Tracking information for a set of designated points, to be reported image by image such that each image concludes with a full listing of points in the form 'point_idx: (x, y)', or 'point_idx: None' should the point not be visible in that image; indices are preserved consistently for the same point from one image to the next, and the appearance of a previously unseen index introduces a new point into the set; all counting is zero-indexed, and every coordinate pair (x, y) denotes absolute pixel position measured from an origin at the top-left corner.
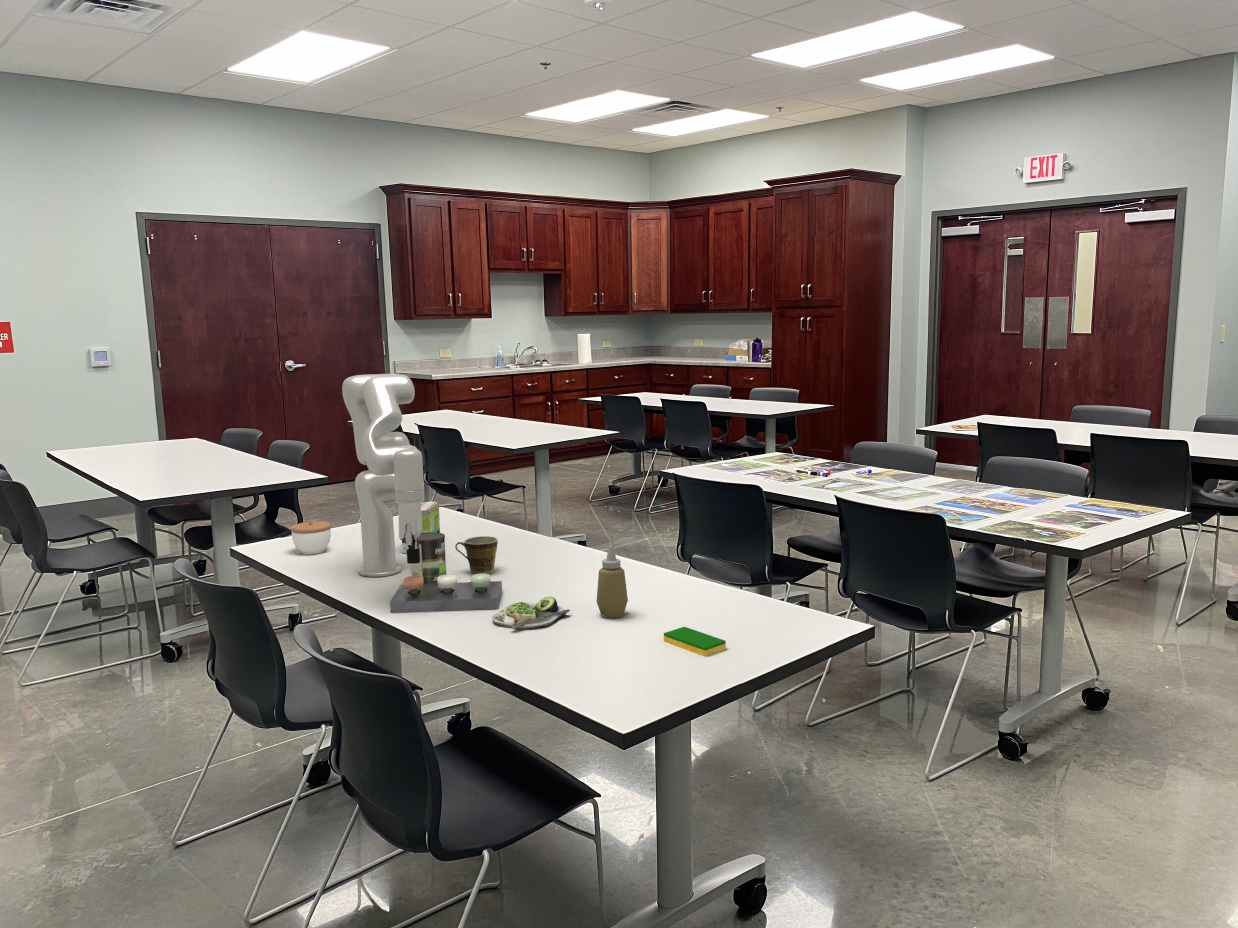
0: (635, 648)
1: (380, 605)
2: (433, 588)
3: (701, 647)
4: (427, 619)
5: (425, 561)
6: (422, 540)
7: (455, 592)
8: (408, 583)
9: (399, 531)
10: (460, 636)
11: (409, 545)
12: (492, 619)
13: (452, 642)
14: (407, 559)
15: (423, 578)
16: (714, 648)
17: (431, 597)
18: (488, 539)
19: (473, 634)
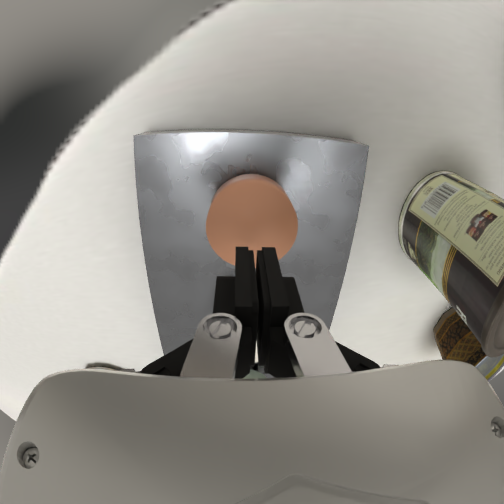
0: None
1: (237, 78)
2: (285, 265)
3: None
4: (93, 251)
5: (448, 257)
6: (502, 303)
7: None
8: (210, 206)
9: (5, 455)
10: (30, 315)
11: (175, 366)
12: (95, 367)
13: (8, 303)
14: (235, 259)
15: (417, 219)
16: None
17: (177, 270)
18: (492, 369)
19: (43, 333)
